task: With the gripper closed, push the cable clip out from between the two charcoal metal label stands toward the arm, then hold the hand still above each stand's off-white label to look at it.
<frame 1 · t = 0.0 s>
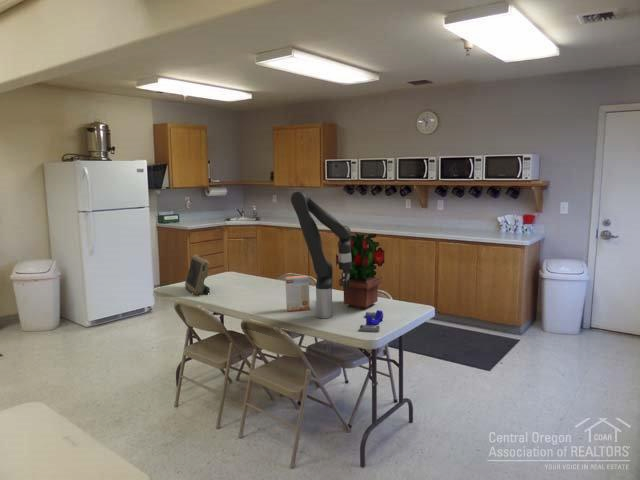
hand: (346, 288, 277), 17 cm above the table, tool pointing down, fingers open, 8 cm apart
cable clip: (375, 324, 267), on the table
cracker box: (298, 310, 297), on the table
potted plant: (360, 305, 303), on the table
label stands: (372, 323, 267), on the table
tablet: (197, 291, 350), on the table
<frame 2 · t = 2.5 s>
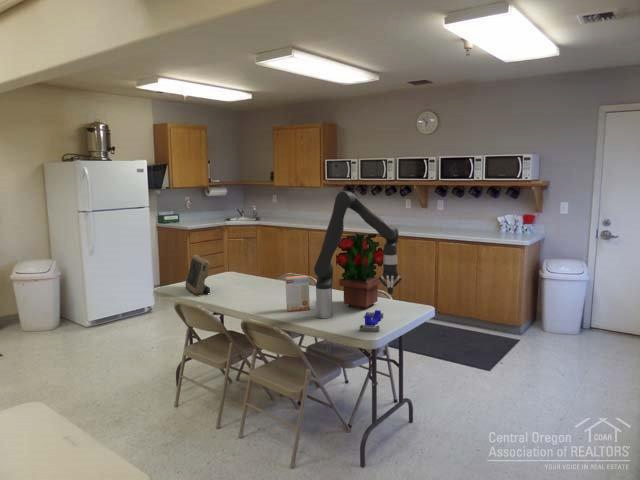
hand: (390, 293, 263), 17 cm above the table, tool pointing down, fingers closed
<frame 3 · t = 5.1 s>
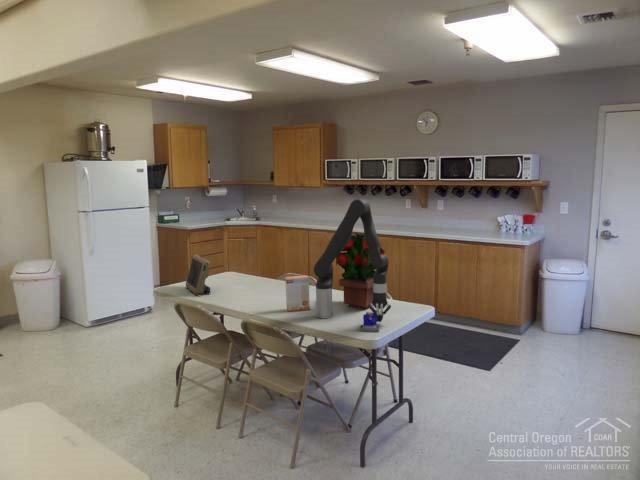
hand: (379, 321, 266), 1 cm above the table, tool pointing down, fingers closed
cable clip: (372, 323, 268), on the table, touching gripper
everything else where it was.
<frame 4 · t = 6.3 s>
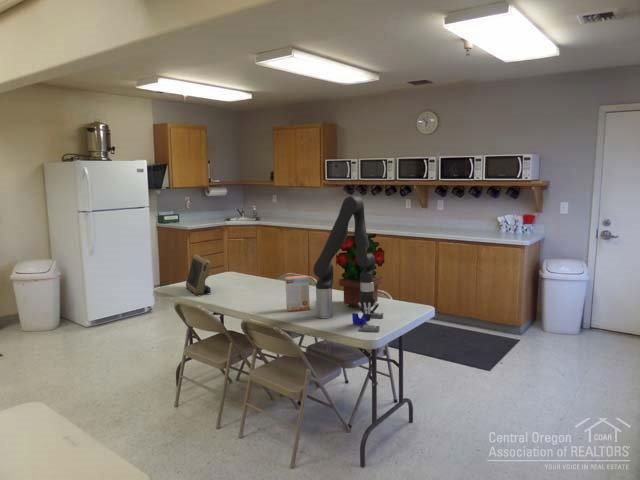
hand: (368, 320, 267), 2 cm above the table, tool pointing down, fingers closed
cable clip: (362, 322, 269), on the table, touching hand
everything else where it was.
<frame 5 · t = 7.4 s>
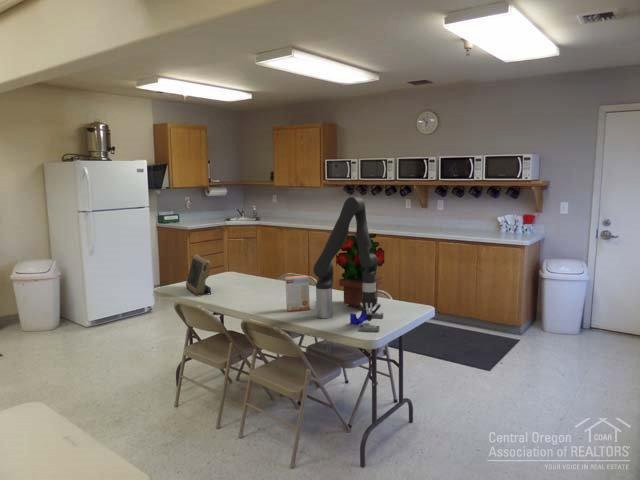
hand: (369, 320, 267), 2 cm above the table, tool pointing down, fingers closed
cable clip: (360, 322, 270), on the table
everything else where it was.
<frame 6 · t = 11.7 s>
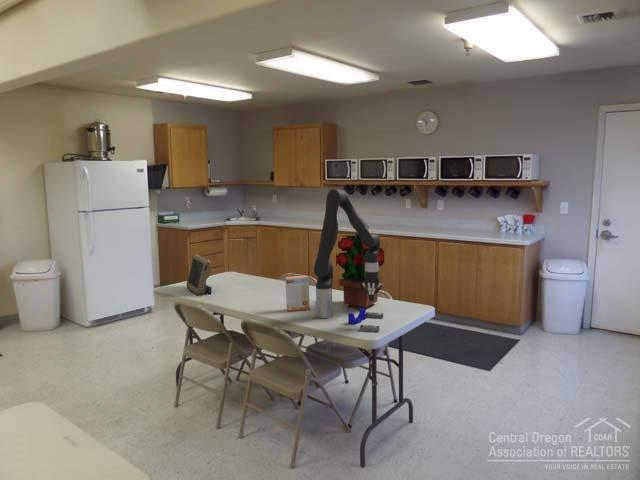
hand: (371, 300, 266), 13 cm above the table, tool pointing down, fingers closed
cable clip: (358, 322, 271), on the table
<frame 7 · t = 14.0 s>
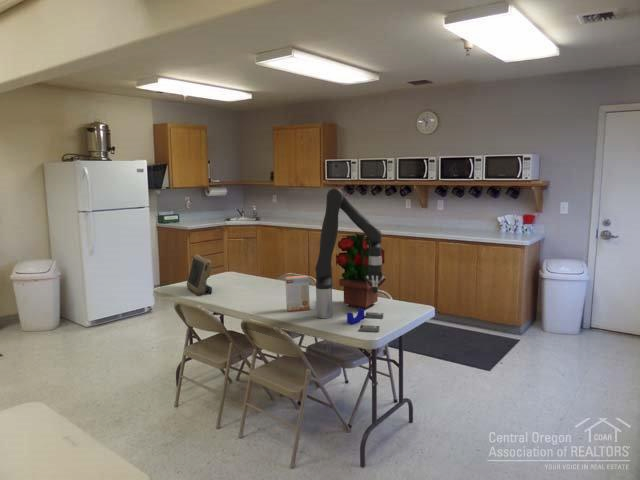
hand: (375, 293, 277), 14 cm above the table, tool pointing down, fingers closed
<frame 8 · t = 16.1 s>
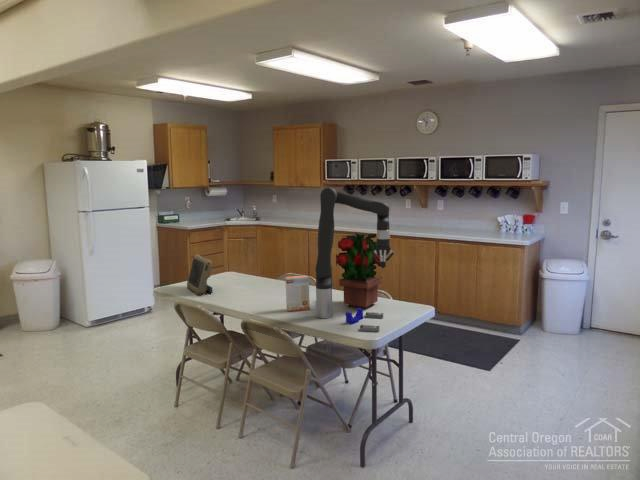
hand: (383, 267, 275), 29 cm above the table, tool pointing down, fingers closed
at the end: cable clip inside the target area (2.9 cm from its centre), on the table; cable clip tilted 0°; cable clip touching table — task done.
